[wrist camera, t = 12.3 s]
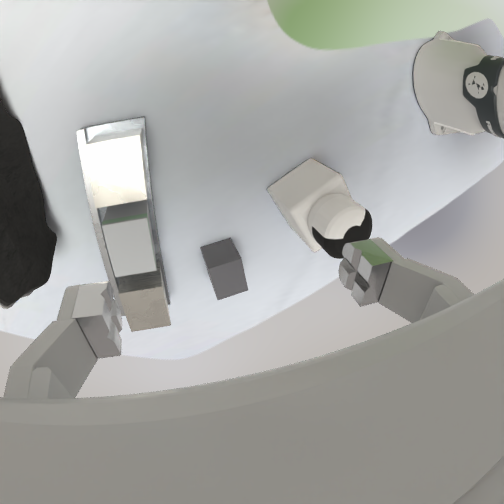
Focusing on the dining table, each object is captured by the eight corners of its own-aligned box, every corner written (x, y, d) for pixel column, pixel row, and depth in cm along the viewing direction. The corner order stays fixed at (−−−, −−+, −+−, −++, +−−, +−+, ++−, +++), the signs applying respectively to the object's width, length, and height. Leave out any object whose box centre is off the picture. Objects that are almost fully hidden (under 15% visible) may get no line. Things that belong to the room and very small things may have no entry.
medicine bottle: (331, 197, 40) (386, 239, 30) (290, 227, 40) (336, 278, 31) (310, 156, 36) (370, 189, 26) (265, 188, 36) (311, 233, 27)
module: (147, 198, 30) (147, 217, 26) (154, 246, 34) (156, 270, 30) (107, 205, 29) (101, 225, 25) (118, 252, 33) (115, 277, 29)
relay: (230, 237, 38) (241, 258, 34) (237, 268, 41) (248, 290, 37) (200, 247, 38) (207, 269, 34) (209, 276, 40) (217, 300, 36)
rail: (144, 116, 27) (142, 123, 22) (169, 297, 40) (174, 330, 35) (81, 128, 25) (65, 138, 20) (121, 304, 38) (120, 339, 33)
